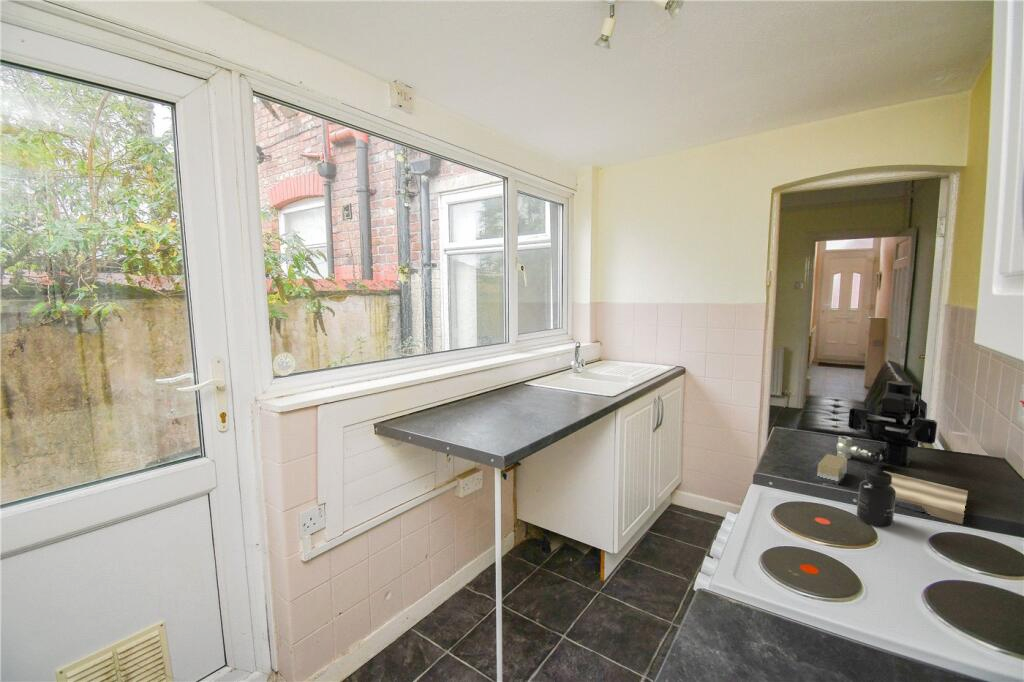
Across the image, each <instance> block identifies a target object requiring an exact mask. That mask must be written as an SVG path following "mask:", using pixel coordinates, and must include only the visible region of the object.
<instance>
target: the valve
mask: <svg viewBox="0 0 1024 682" xmlns="http://www.w3.org/2000/svg"><path fill="white" fill-rule="evenodd" d="M836 450H837V452H836V453H837V454H836V456H839V457H843V458H847V460H851V457H852V455H853V456H860V455H861V456H864V457H867V458H868V457H870V459H872V462H873V467H876V468H879V469H882V468H883V465H884V464H885V463H886V462H885V461H884V458H886V456H887V454H885V452H886V449H885V448H884V447H883V446H878V450H875V451H874V452H873V451H872V452H870V451H869V450H865V449H862V448H861V447H860V446H858V445H853V438H852V437H850V436H847V435H839V436H838V439H837V444H836Z"/></svg>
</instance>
